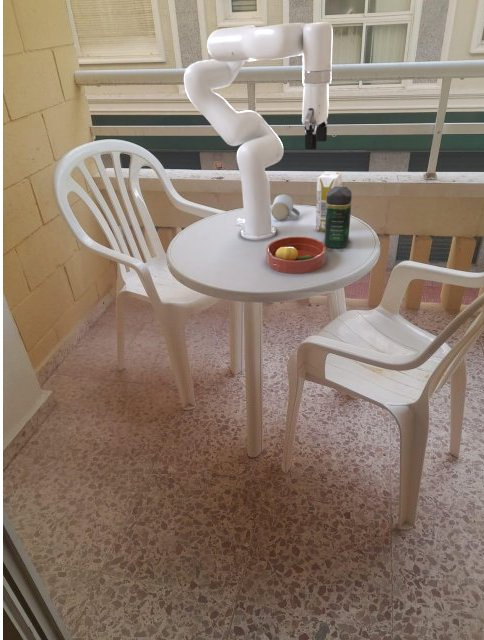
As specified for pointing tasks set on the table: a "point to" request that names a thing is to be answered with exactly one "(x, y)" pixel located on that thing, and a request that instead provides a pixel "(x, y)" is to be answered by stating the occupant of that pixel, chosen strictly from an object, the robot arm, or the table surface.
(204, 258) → the table surface
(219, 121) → the robot arm
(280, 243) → the bowl
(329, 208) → the coffee jar
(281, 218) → the ceramic mug
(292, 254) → the tulip
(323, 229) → the juice carton
